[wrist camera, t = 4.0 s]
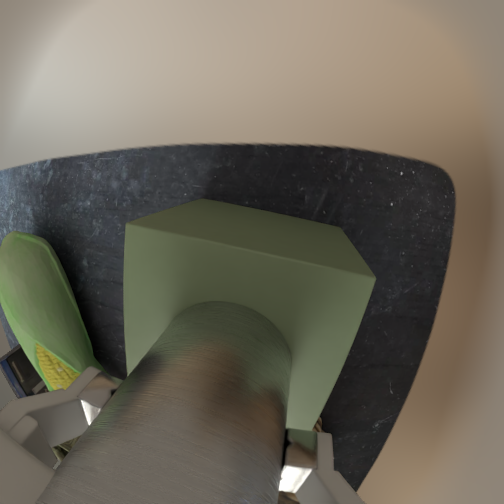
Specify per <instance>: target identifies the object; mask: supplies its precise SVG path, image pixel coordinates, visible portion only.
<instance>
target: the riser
mask: <svg viewBox="0 0 504 504" xmlns="http://www.w3.org/2000/svg"><path fill="white" fill-rule="evenodd" d="M375 281H376V277H375V276H374V274H373V273H372V271H371V270H370V268H369V267H368V266H367V264H366V263H365V261H364V260H363V258H362V257H361V255H360V254H359V253H358V251H357V250H356V248H355V247H354V246H353V244H352V243H351V242H350V240H349V239H348V237H347V236H346V235H345V233H344V232H343V231H342V229H341V228H340V227H336V226H332V225H328V224H324V223H319V222H315V221H310V220H306V219H302V218H297V217H292V216H288V215H283V214H279V213H274V212H269V211H264V210H260V209H255V208H250V207H245V206H240V205H235V204H229V203H224V202H219V201H214V200H208V199H203V198H201V199H198V200H195V201H191V202H188V203H185V204H182V205H179V206H175V207H172V208H169V209H166V210H163V211H160V212H157V213H154V214H151V215H148V216H145V217H142V218H139V219H136V220H133V221H131V222H128V223H126V230H125V248H124V333H125V351H126V364H127V376H128V375H129V374H130V373H131V372H132V370H133V369H134V368H135V367H136V365H137V364H138V363H139V362H140V360H141V359H142V358H143V357H144V355H145V354H146V353H147V352H148V350H149V349H150V348H151V347H152V345H153V344H154V343H155V342H156V340H157V339H158V338H159V337H160V336H161V334H162V333H163V332H164V331H165V329H166V328H167V327H168V326H169V324H170V323H171V322H172V321H173V319H174V318H175V317H176V316H177V315H178V314H179V313H181V312H182V311H184V310H185V309H187V308H189V307H191V306H193V305H196V304H199V303H205V302H214V301H220V302H230V303H235V304H239V305H242V306H245V307H248V308H250V309H252V310H254V311H256V312H258V313H260V314H261V315H263V316H264V317H266V318H267V319H268V320H270V321H271V322H272V323H273V324H274V325H275V326H276V327H277V328H278V330H279V331H280V332H281V333H282V335H283V336H284V338H285V340H286V342H287V344H288V346H289V349H290V353H291V374H290V388H289V400H288V412H287V423H286V429H287V428H293V429H300V430H308V431H312V429H313V427H314V425H315V424H316V422H317V420H318V418H319V416H320V414H321V412H322V410H323V408H324V406H325V404H326V402H327V400H328V398H329V396H330V394H331V391H332V389H333V387H334V385H335V383H336V381H337V379H338V376H339V374H340V372H341V370H342V367H343V365H344V363H345V360H346V358H347V356H348V353H349V351H350V348H351V346H352V344H353V341H354V339H355V336H356V334H357V331H358V328H359V326H360V323H361V321H362V318H363V315H364V312H365V310H366V307H367V304H368V301H369V298H370V296H371V293H372V290H373V287H374V284H375Z"/></svg>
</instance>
